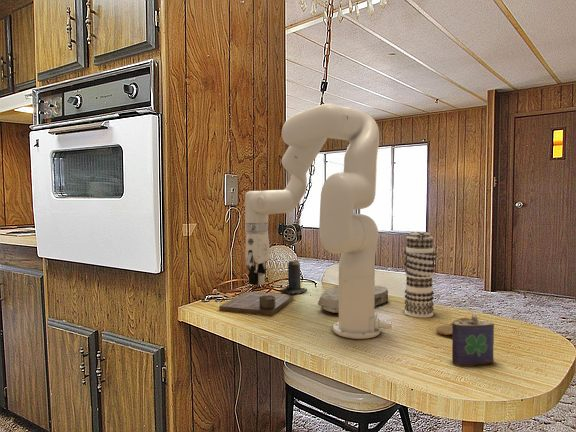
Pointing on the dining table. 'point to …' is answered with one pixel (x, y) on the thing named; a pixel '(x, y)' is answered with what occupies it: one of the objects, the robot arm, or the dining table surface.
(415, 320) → the dining table surface
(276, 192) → the robot arm
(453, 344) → the flask
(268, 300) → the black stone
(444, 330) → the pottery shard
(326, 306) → the fossil stone
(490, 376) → the dining table surface
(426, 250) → the decorative candle
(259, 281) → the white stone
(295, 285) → the dark post with base
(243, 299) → the board
